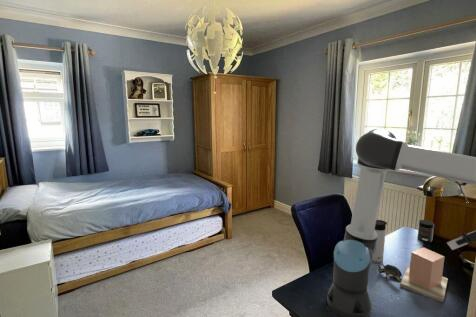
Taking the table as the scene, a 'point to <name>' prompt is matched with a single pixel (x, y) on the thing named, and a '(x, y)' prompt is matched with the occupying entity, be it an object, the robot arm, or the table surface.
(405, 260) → the table surface
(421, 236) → the supplement container
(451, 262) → the table surface
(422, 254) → the peach squarish block
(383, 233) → the travel mug
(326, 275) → the table surface
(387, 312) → the table surface
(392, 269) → the eagle figurine
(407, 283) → the birch pad
